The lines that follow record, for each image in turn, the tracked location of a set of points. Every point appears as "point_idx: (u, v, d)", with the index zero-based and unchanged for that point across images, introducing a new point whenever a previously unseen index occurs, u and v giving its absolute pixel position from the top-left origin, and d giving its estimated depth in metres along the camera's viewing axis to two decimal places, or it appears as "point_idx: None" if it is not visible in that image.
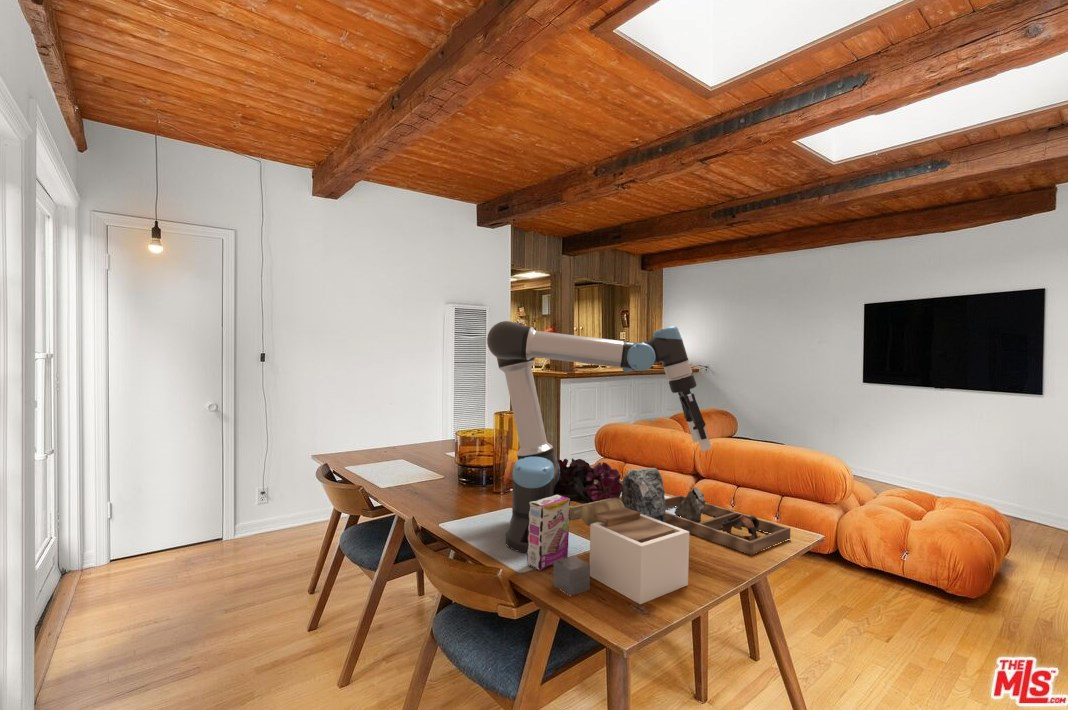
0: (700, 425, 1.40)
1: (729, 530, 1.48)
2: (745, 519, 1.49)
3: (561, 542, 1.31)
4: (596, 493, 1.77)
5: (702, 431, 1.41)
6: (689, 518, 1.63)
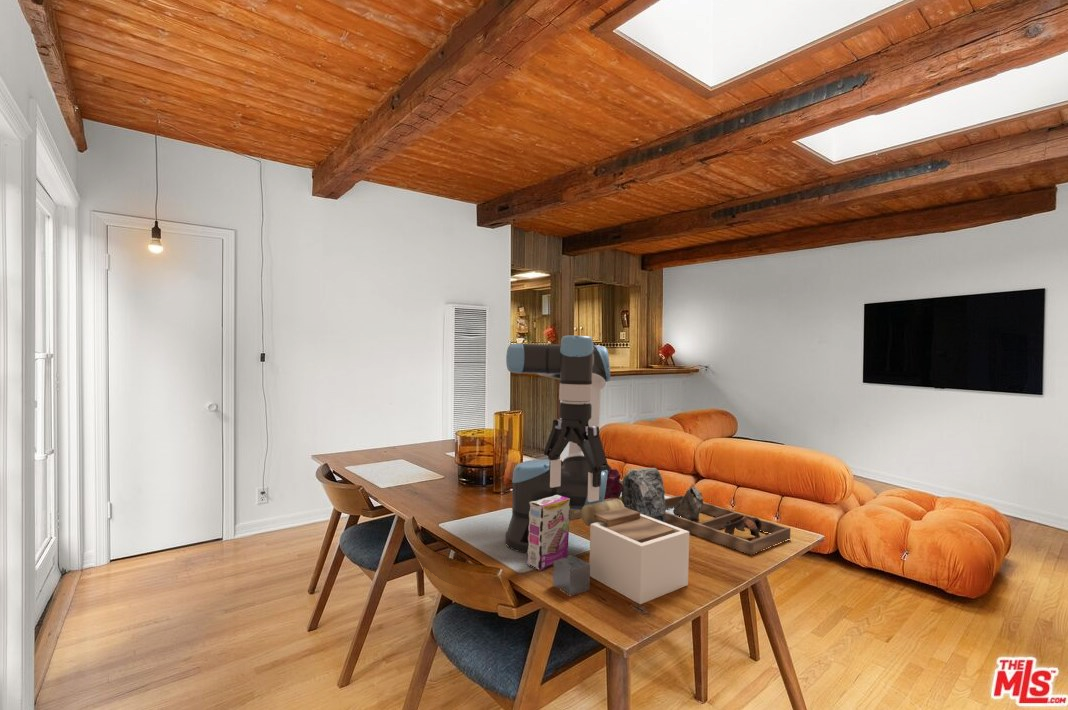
0: (604, 468, 1.08)
1: (732, 532, 1.47)
2: (748, 521, 1.48)
3: (561, 542, 1.31)
4: None
5: (599, 476, 1.10)
6: (687, 517, 1.65)
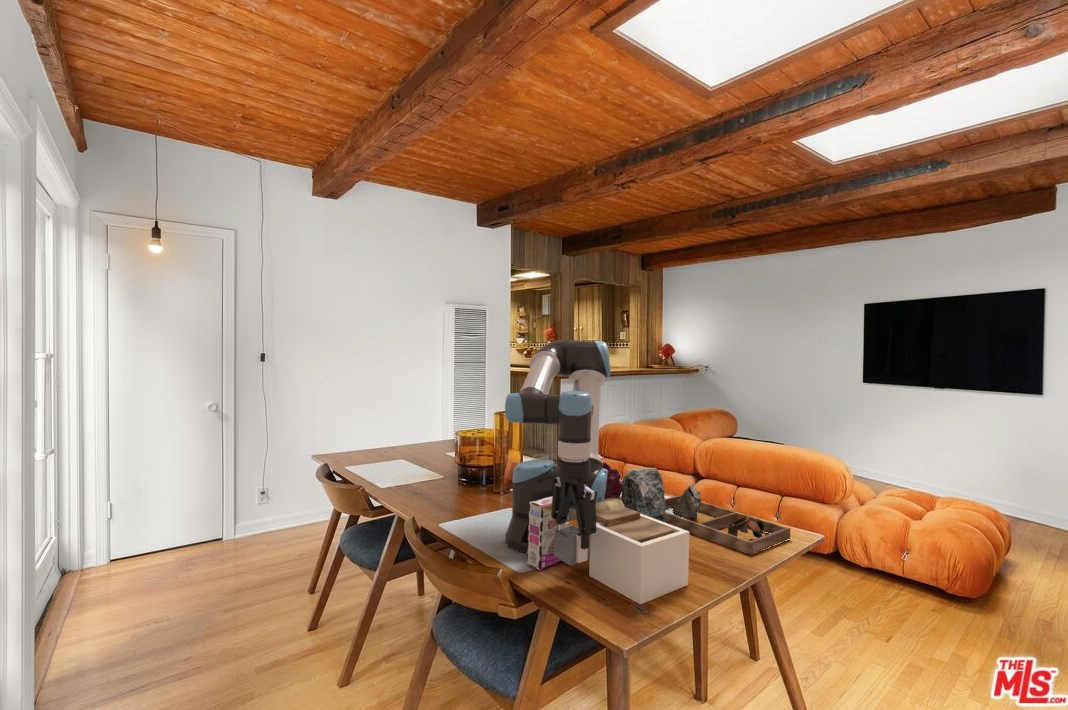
0: (591, 532, 1.12)
1: (735, 534, 1.46)
2: (751, 522, 1.47)
3: None
4: None
5: (587, 539, 1.14)
6: (685, 515, 1.66)
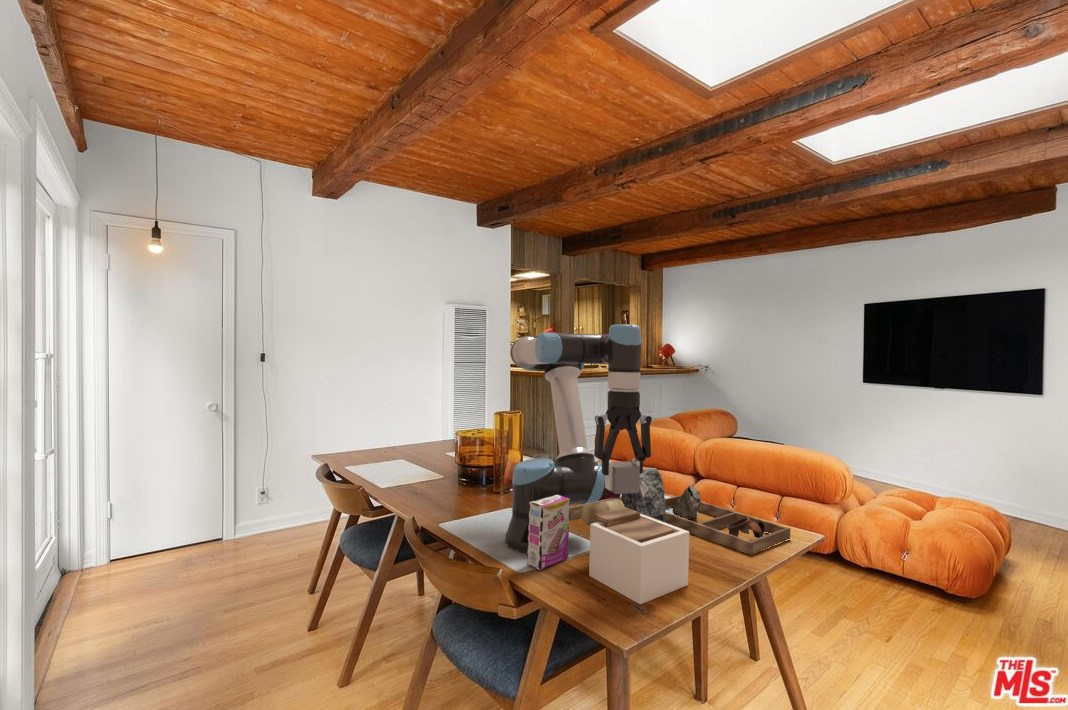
0: None
1: (736, 534, 1.45)
2: (752, 523, 1.46)
3: (561, 542, 1.31)
4: None
5: None
6: (684, 515, 1.66)
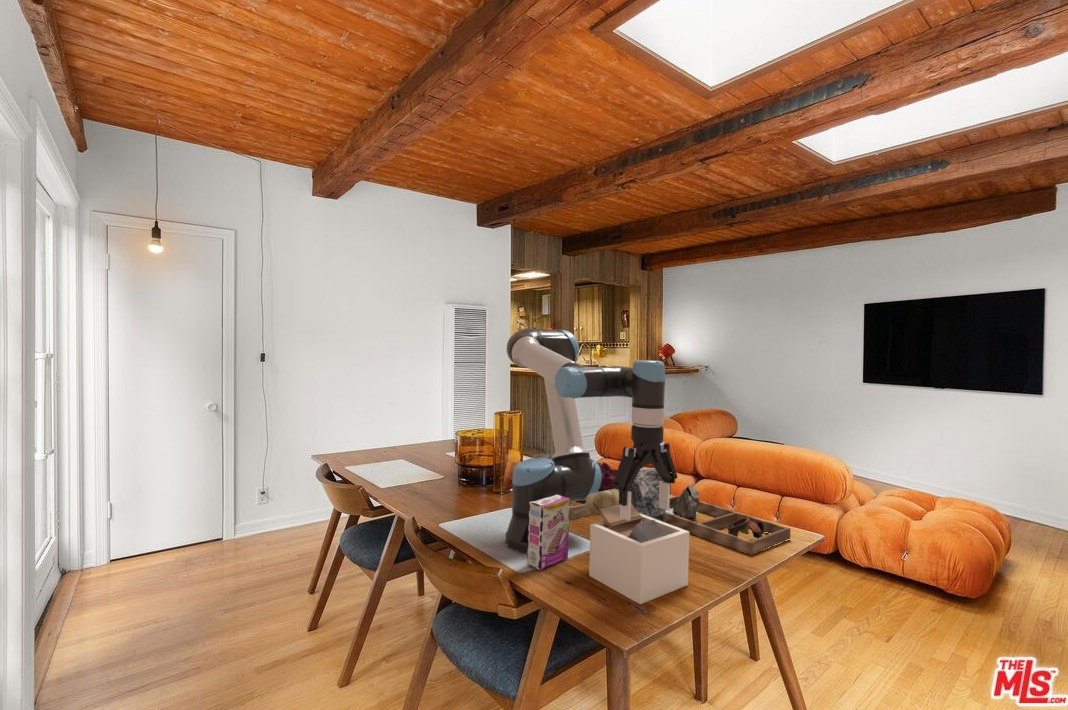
0: None
1: (736, 535, 1.45)
2: (751, 523, 1.46)
3: (561, 542, 1.31)
4: None
5: None
6: (683, 515, 1.66)
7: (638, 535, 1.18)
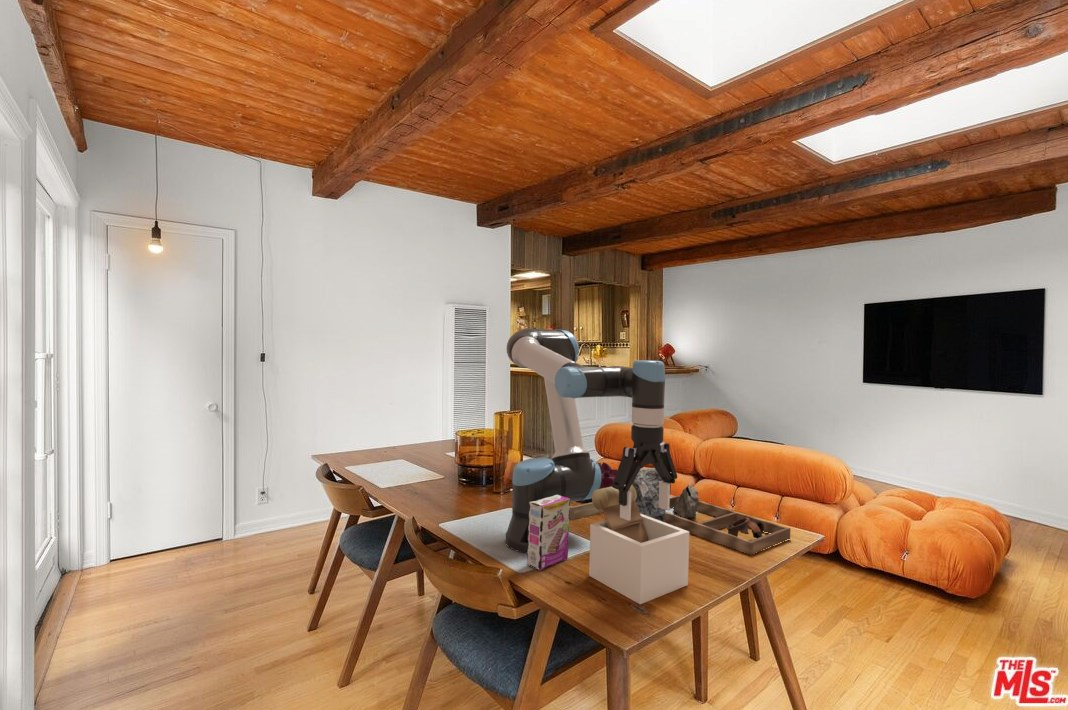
0: None
1: (736, 535, 1.45)
2: (751, 523, 1.46)
3: (561, 542, 1.31)
4: None
5: None
6: (683, 515, 1.67)
7: None
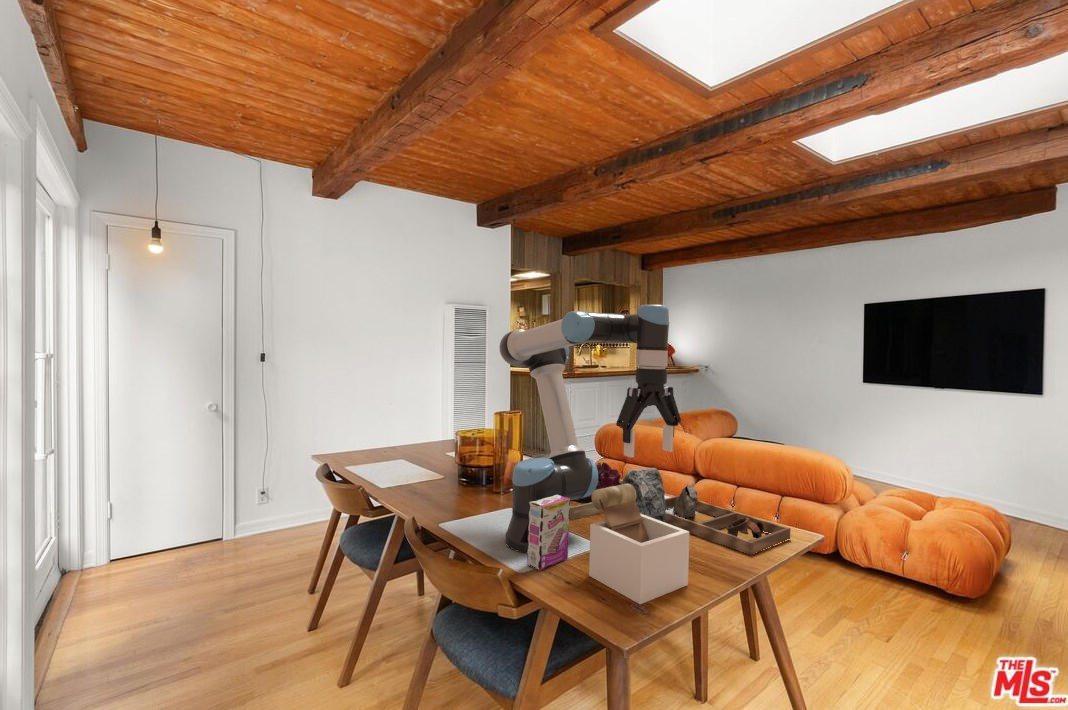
0: None
1: (735, 535, 1.44)
2: (751, 523, 1.46)
3: (561, 542, 1.31)
4: None
5: None
6: (682, 514, 1.67)
7: None
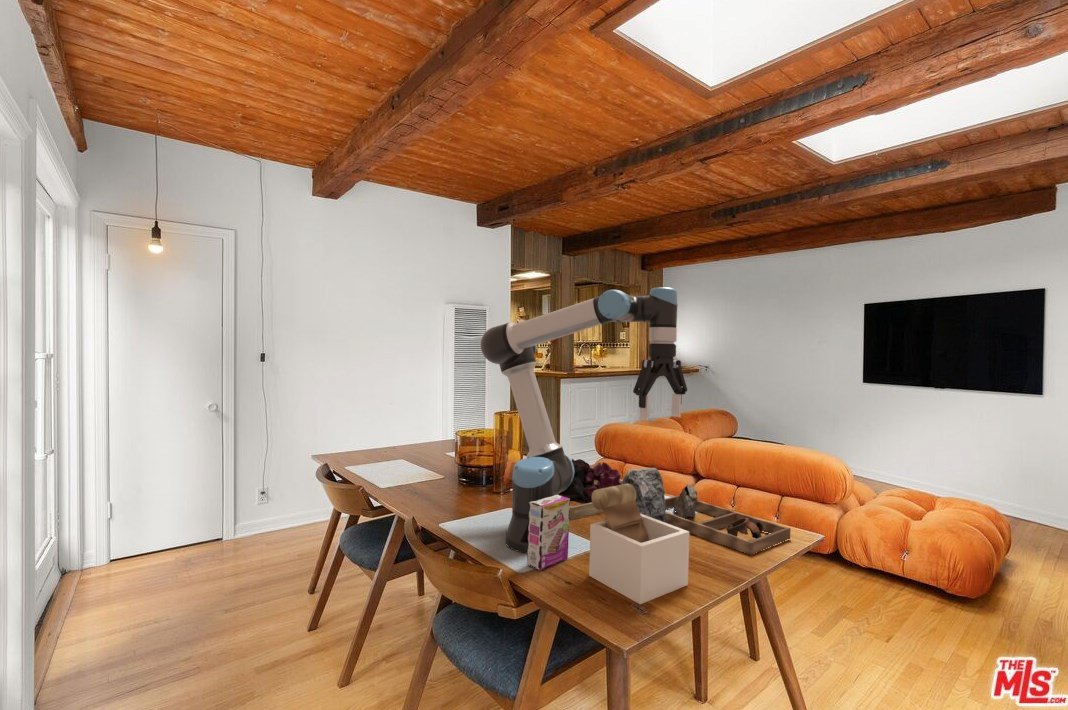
0: None
1: (735, 535, 1.44)
2: (750, 523, 1.46)
3: (561, 542, 1.31)
4: None
5: None
6: (681, 514, 1.67)
7: None
